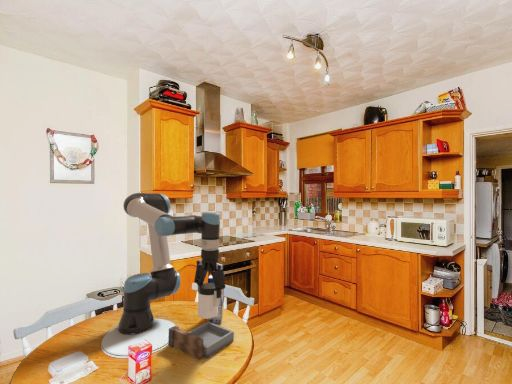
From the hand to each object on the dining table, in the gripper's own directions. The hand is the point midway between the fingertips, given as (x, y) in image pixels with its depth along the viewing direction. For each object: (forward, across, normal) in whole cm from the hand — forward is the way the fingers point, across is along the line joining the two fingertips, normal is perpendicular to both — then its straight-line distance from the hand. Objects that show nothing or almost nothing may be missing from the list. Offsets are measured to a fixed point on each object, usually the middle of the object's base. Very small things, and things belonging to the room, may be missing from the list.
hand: (208, 302), depth 113 cm
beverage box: (+17, -13, +18) cm, 28 cm away
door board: (+17, -2, -10) cm, 19 cm away
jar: (+5, 0, 0) cm, 5 cm away
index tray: (+17, 0, 0) cm, 17 cm away
